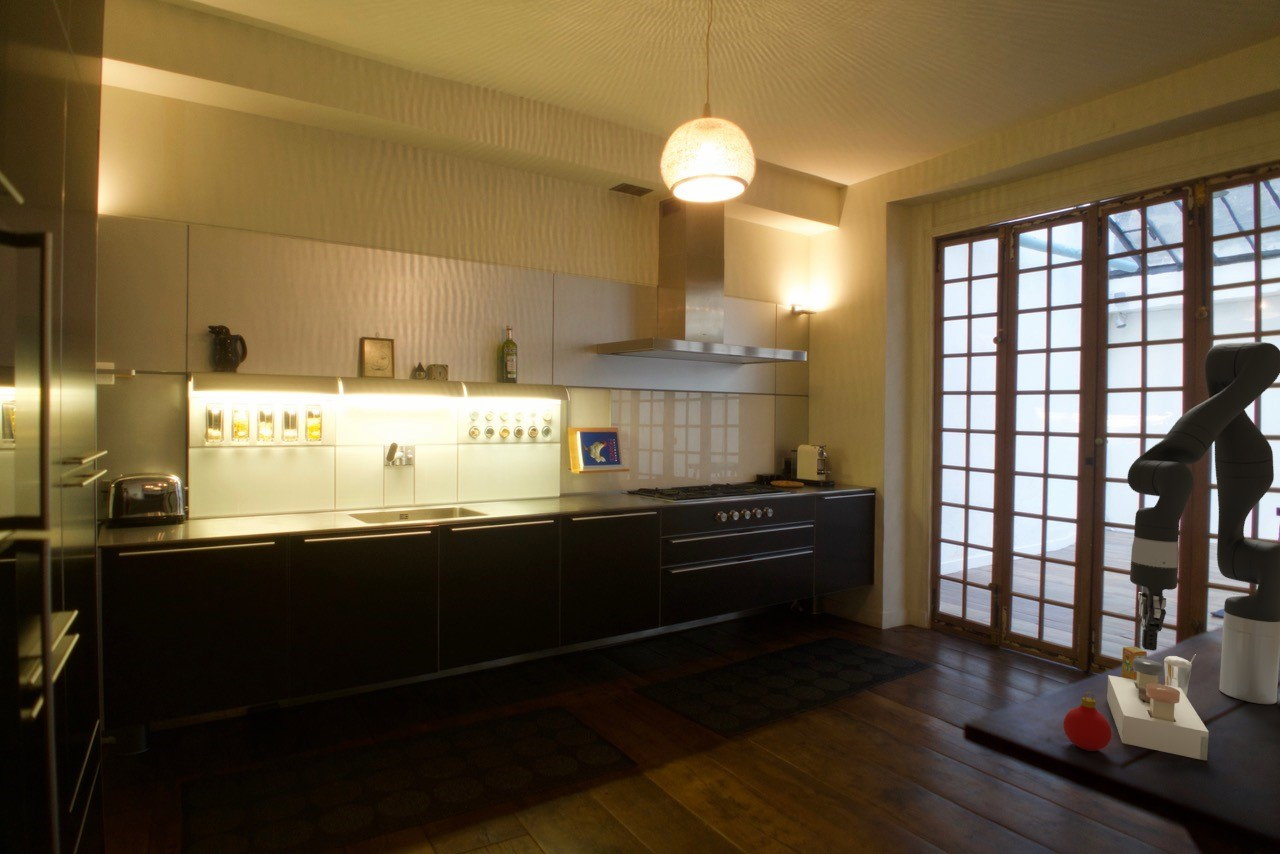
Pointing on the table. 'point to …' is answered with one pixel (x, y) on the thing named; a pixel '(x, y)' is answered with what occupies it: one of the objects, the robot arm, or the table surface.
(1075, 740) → the christmas ornament
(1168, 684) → the milkshake
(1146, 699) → the walnut knob
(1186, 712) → the knob console
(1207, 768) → the table surface
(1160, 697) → the terracotta knob
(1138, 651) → the supplement box
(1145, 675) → the charcoal knob
